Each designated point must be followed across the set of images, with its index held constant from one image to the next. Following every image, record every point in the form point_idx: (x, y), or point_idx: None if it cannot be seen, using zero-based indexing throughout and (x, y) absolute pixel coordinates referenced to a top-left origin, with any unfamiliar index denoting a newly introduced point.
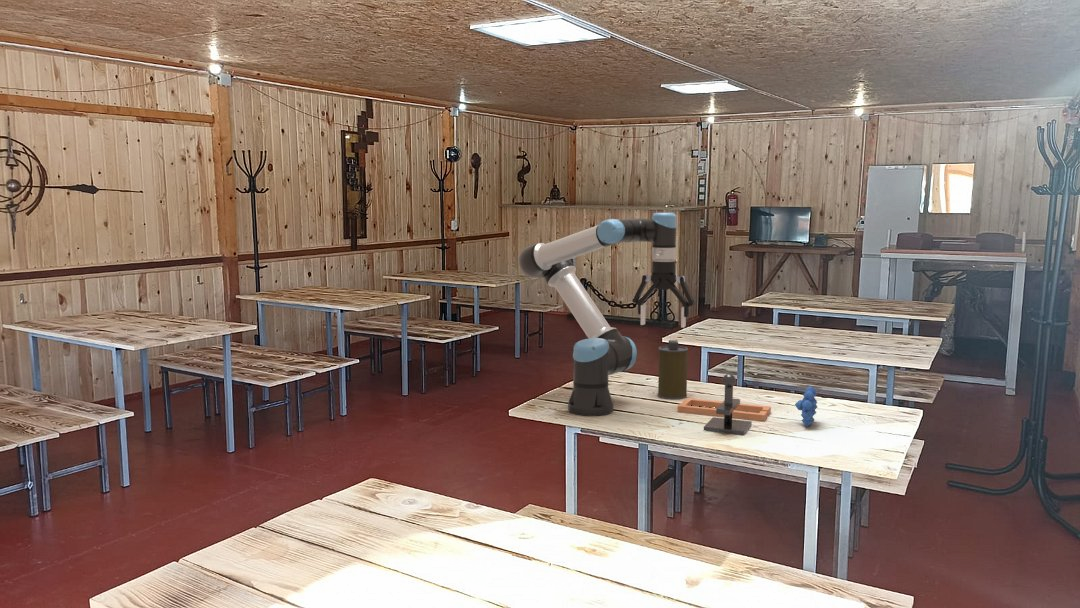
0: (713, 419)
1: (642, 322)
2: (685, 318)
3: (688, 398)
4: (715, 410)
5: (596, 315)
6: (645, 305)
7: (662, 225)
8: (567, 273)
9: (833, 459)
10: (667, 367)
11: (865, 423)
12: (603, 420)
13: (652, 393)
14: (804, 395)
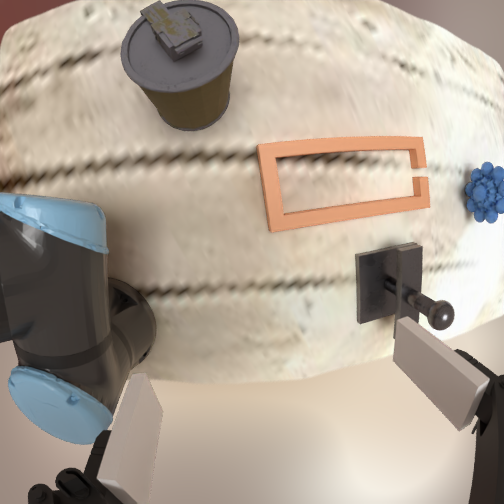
0: (363, 271)
1: (159, 421)
2: (436, 343)
3: (263, 147)
4: (354, 218)
5: None
6: (118, 474)
7: None
8: None
9: (481, 320)
10: (184, 108)
11: (498, 149)
12: (176, 367)
13: (140, 103)
14: (498, 209)
